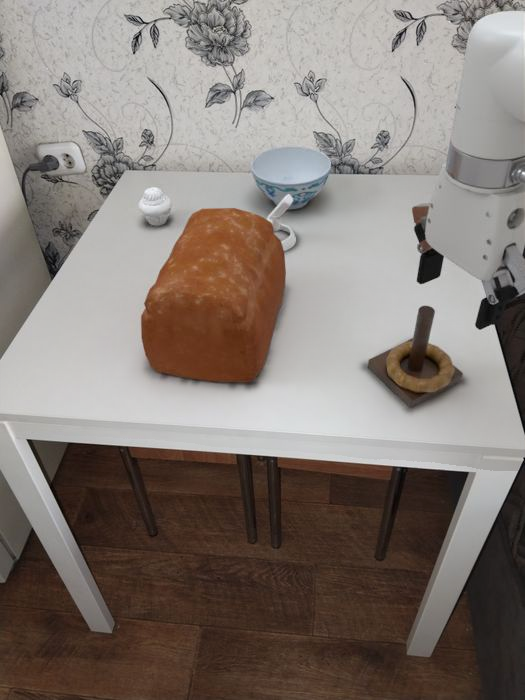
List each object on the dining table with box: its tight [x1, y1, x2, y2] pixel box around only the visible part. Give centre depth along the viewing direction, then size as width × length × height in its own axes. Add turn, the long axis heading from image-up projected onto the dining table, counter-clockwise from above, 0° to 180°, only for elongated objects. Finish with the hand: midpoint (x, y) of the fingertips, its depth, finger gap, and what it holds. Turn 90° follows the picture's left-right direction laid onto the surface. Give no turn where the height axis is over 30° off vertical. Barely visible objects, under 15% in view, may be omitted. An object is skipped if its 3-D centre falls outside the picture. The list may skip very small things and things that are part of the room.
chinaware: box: [250, 145, 332, 210], centre depth 113 cm, size 15×15×8 cm
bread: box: [140, 207, 287, 383], centre depth 85 cm, size 17×24×15 cm
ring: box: [386, 341, 454, 393], centre depth 79 cm, size 9×9×2 cm
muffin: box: [137, 186, 173, 227], centre depth 110 cm, size 6×6×7 cm
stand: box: [367, 305, 464, 409], centre depth 78 cm, size 9×9×12 cm
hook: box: [266, 194, 297, 252], centre depth 103 cm, size 8×12×7 cm
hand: (456, 300), depth 68 cm, fingers open, 9 cm apart
